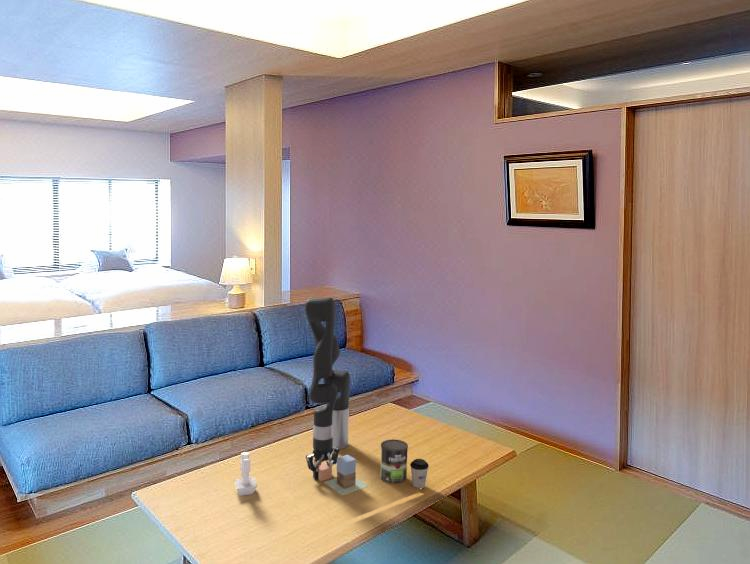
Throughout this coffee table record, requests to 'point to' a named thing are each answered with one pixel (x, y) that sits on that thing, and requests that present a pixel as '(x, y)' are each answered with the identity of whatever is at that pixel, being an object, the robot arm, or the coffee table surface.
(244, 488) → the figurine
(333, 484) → the baseplate
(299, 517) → the coffee table surface
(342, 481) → the walnut block
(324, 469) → the terracotta block
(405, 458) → the coffee can
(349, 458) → the slate block
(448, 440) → the coffee table surface
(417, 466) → the coffee cup
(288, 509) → the coffee table surface
